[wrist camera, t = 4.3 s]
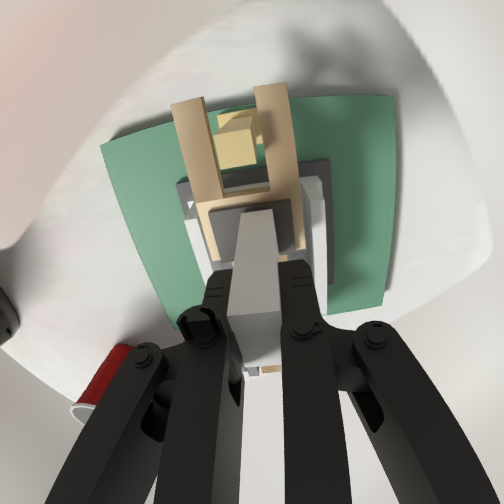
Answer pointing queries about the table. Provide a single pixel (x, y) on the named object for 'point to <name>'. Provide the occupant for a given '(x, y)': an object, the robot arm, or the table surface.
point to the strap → (248, 200)
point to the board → (313, 138)
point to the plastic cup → (99, 383)
